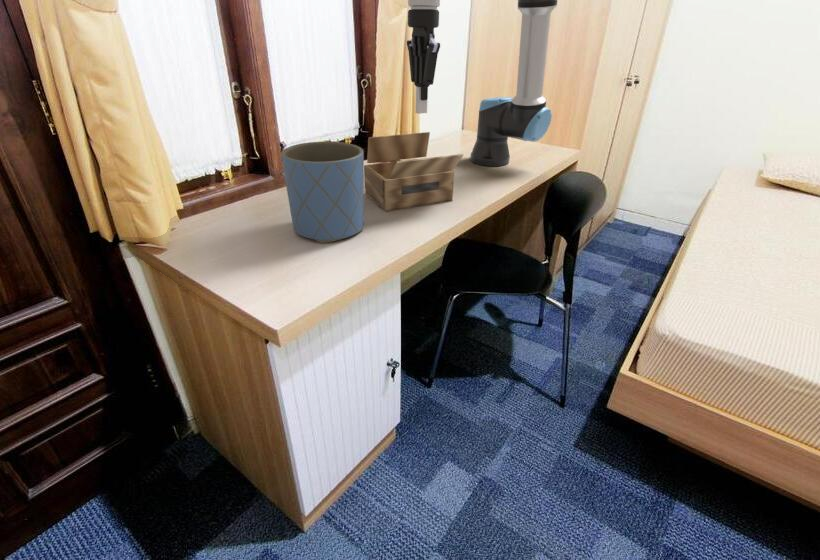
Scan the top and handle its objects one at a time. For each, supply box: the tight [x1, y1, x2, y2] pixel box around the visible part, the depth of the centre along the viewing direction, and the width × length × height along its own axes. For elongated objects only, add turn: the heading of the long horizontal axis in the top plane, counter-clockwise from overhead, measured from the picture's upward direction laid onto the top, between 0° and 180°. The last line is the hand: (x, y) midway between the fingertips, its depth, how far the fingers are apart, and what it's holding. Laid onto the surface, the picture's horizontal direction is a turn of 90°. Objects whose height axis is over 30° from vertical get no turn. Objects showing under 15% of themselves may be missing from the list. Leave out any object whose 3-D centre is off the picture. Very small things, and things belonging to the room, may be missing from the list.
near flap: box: [389, 153, 464, 179], centre depth 119 cm, size 20×8×1 cm
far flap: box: [366, 131, 431, 164], centre depth 132 cm, size 20×8×1 cm
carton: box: [364, 157, 455, 212], centre depth 131 cm, size 23×16×9 cm
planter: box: [280, 141, 365, 244], centre depth 107 cm, size 19×19×20 cm
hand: (421, 112), depth 116 cm, fingers closed
